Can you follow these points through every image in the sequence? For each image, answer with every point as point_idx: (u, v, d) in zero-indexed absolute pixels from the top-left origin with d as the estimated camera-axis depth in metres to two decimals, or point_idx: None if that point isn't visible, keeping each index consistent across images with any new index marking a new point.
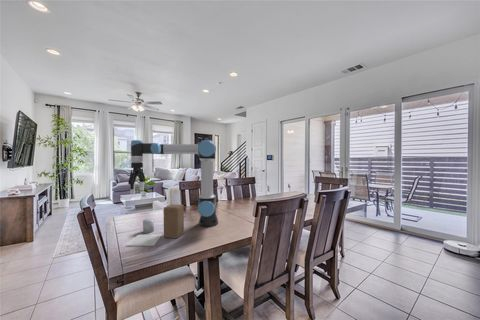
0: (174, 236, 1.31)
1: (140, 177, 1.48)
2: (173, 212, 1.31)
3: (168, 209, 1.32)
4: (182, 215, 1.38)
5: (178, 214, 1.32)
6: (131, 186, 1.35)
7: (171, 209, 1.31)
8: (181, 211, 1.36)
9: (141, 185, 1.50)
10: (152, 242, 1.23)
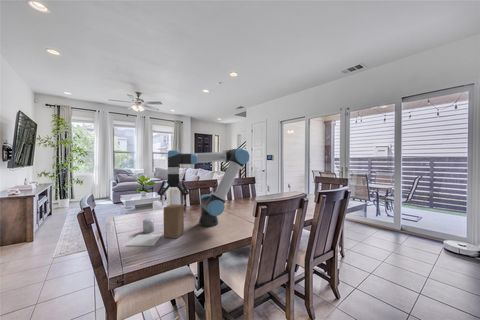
0: (174, 236, 1.31)
1: None
2: (173, 212, 1.31)
3: (168, 209, 1.32)
4: (182, 215, 1.38)
5: (178, 214, 1.32)
6: None
7: (171, 209, 1.31)
8: (181, 211, 1.36)
9: (183, 199, 1.37)
10: (152, 242, 1.23)
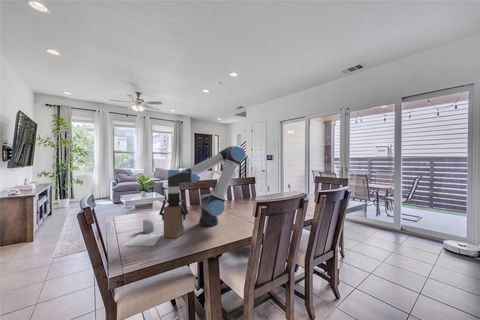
0: (174, 236, 1.31)
1: None
2: (173, 211, 1.31)
3: (168, 209, 1.32)
4: None
5: (178, 214, 1.32)
6: None
7: (171, 209, 1.31)
8: None
9: (182, 218, 1.37)
10: (152, 242, 1.23)
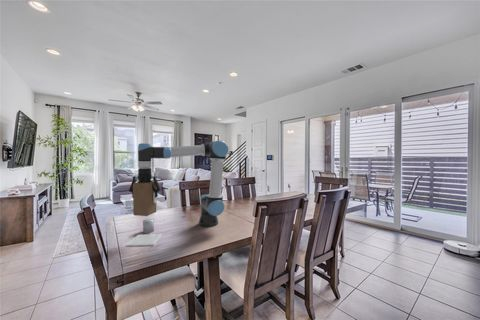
0: (144, 214, 1.23)
1: None
2: (143, 187, 1.23)
3: (138, 185, 1.23)
4: None
5: (149, 190, 1.24)
6: None
7: (141, 185, 1.23)
8: None
9: None
10: (152, 242, 1.23)
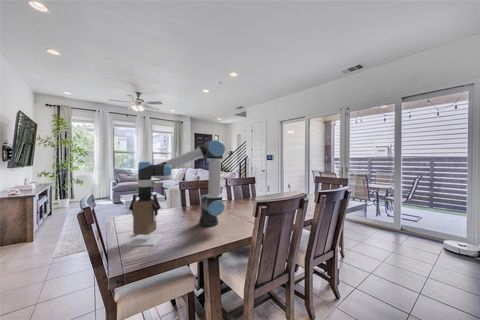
0: (144, 232, 1.23)
1: None
2: (143, 206, 1.23)
3: (138, 204, 1.24)
4: None
5: (149, 209, 1.24)
6: None
7: (141, 204, 1.23)
8: None
9: None
10: (152, 242, 1.23)
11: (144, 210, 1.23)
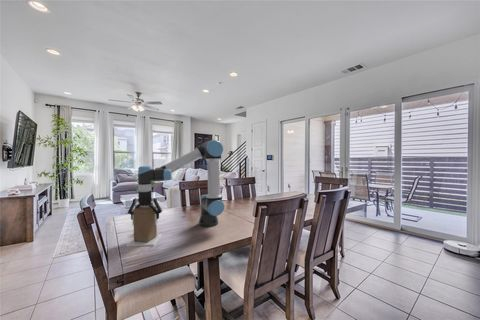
0: (144, 240, 1.23)
1: None
2: (143, 214, 1.23)
3: (138, 211, 1.24)
4: (154, 217, 1.30)
5: (149, 216, 1.24)
6: None
7: (141, 211, 1.23)
8: (152, 213, 1.28)
9: None
10: (152, 242, 1.23)
11: (145, 217, 1.23)
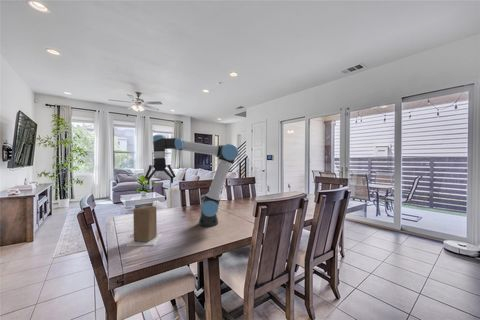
0: (144, 240, 1.23)
1: None
2: (143, 214, 1.23)
3: (138, 211, 1.24)
4: (154, 217, 1.30)
5: (149, 216, 1.24)
6: None
7: (141, 211, 1.23)
8: (152, 213, 1.28)
9: None
10: (152, 242, 1.23)
11: (145, 217, 1.23)
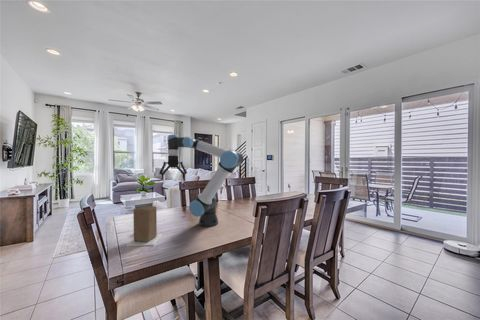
0: (144, 240, 1.23)
1: None
2: (143, 214, 1.23)
3: (138, 211, 1.24)
4: (154, 217, 1.30)
5: (149, 216, 1.24)
6: None
7: (141, 211, 1.23)
8: (152, 213, 1.28)
9: None
10: (152, 242, 1.23)
11: (145, 217, 1.23)
